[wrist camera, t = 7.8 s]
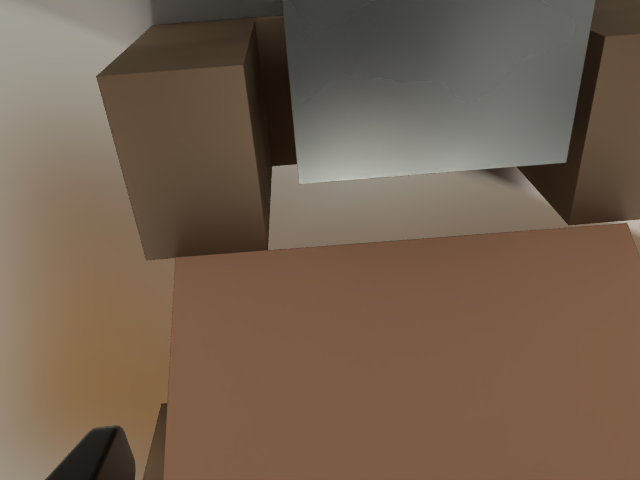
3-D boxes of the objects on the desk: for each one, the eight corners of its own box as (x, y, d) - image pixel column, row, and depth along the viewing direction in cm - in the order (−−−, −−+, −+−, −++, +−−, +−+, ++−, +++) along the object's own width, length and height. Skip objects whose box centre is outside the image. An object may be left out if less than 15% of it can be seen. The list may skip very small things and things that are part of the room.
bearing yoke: (611, -11, 9) (749, 24, 6) (583, 135, 10) (688, 215, 7) (152, 25, 9) (96, 76, 6) (182, 167, 10) (145, 260, 7)
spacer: (626, 222, 7) (741, 516, 6) (503, 354, 13) (544, 526, 11) (175, 257, 7) (159, 566, 6) (241, 375, 13) (243, 552, 11)
